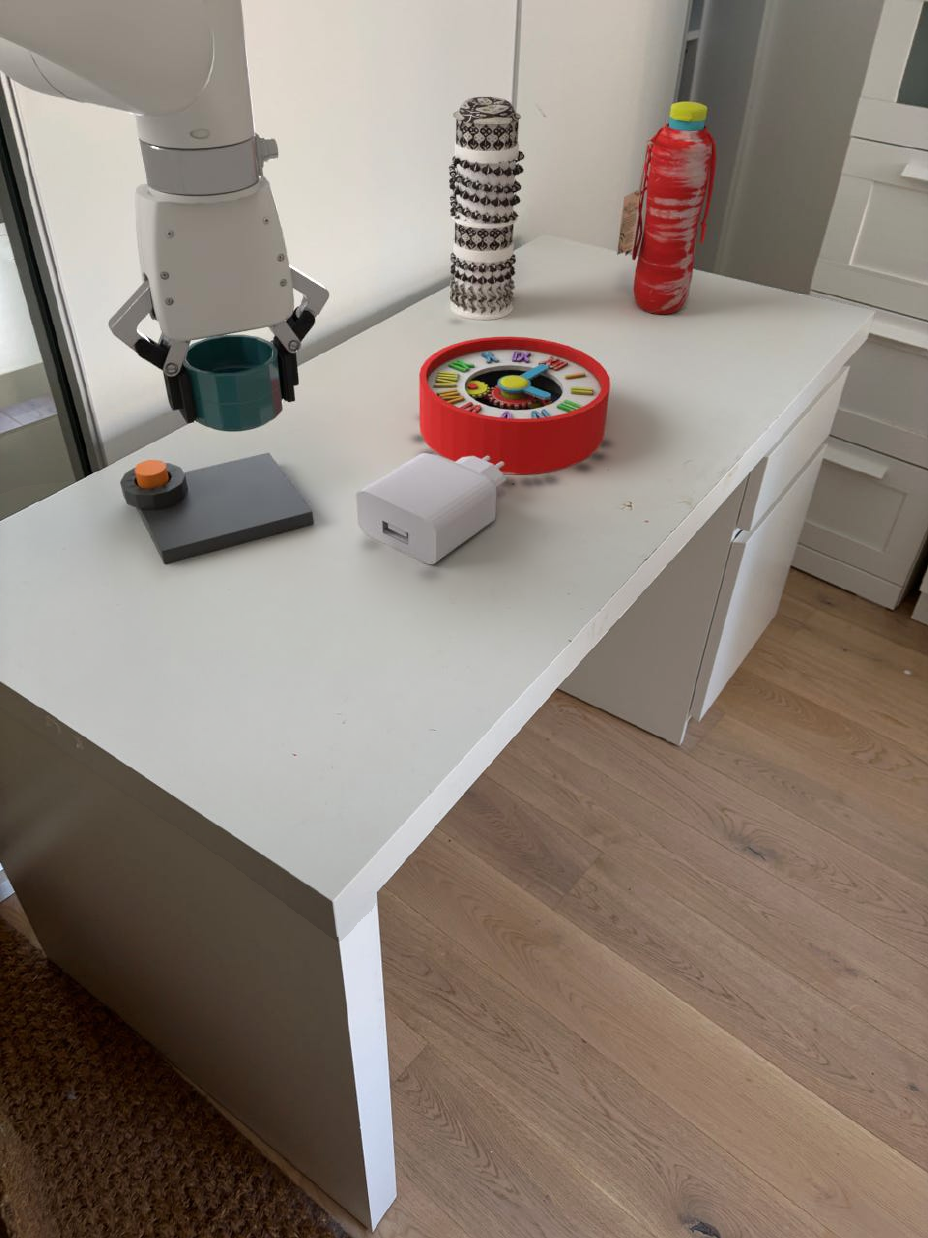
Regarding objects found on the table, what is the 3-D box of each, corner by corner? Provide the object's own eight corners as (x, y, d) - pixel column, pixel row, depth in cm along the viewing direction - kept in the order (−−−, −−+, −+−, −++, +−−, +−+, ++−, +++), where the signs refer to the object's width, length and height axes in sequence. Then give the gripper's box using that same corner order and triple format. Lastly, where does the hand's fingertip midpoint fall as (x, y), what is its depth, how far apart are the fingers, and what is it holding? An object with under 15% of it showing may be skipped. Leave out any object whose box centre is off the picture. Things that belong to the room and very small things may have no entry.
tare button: (142, 492, 88) (138, 478, 87) (134, 478, 90) (131, 463, 89) (172, 485, 90) (169, 470, 89) (164, 471, 91) (161, 456, 90)
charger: (532, 497, 94) (435, 569, 85) (458, 466, 98) (358, 531, 89) (536, 455, 91) (435, 524, 82) (459, 424, 95) (355, 486, 86)
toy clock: (379, 379, 100) (497, 321, 112) (381, 429, 104) (495, 368, 116) (535, 443, 90) (646, 372, 102) (531, 496, 94) (639, 422, 106)
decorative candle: (524, 318, 127) (537, 108, 111) (455, 323, 126) (458, 111, 110) (506, 292, 134) (515, 91, 118) (441, 297, 132) (441, 93, 116)
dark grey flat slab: (154, 567, 84) (148, 538, 82) (121, 498, 92) (114, 470, 91) (314, 524, 90) (311, 496, 88) (269, 462, 98) (266, 436, 96)
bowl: (206, 443, 73) (195, 382, 70) (180, 403, 78) (169, 344, 74) (296, 423, 75) (290, 363, 72) (266, 385, 80) (259, 328, 77)
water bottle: (596, 306, 131) (618, 101, 115) (617, 287, 137) (641, 89, 121) (681, 324, 127) (717, 114, 111) (699, 304, 132) (736, 101, 116)
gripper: (305, 138, 70) (323, 365, 82) (57, 164, 64) (113, 407, 75) (344, 164, 65) (357, 403, 77) (79, 196, 59) (136, 451, 70)
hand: (236, 403), depth 76 cm, fingers closed on bowl, 7 cm apart
